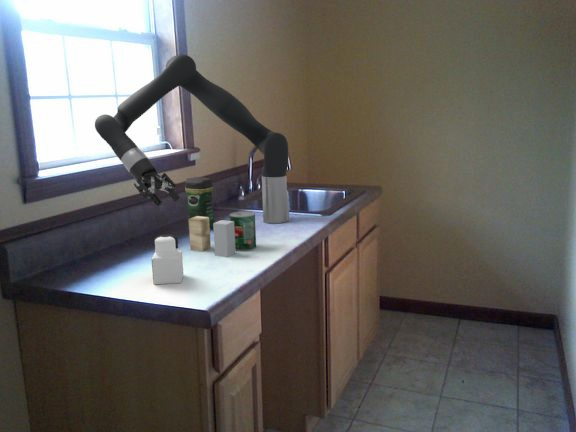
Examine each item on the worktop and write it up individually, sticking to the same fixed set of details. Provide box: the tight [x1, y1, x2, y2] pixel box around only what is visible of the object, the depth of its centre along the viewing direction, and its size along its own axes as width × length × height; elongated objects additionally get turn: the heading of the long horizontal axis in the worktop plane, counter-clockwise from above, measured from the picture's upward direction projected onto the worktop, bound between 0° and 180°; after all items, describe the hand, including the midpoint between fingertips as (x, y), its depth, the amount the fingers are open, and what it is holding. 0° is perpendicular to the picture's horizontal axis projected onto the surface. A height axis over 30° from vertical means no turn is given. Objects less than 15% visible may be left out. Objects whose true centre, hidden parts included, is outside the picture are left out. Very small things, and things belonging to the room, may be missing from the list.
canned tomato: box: [229, 210, 257, 252], centre depth 182 cm, size 8×8×11 cm
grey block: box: [212, 219, 237, 258], centre depth 175 cm, size 4×4×10 cm
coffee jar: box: [184, 176, 216, 230], centre depth 208 cm, size 10×8×19 cm
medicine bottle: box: [151, 233, 184, 285], centre depth 152 cm, size 7×7×12 cm
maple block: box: [188, 216, 212, 252], centre depth 182 cm, size 4×4×10 cm
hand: (169, 202), depth 185 cm, fingers open, 8 cm apart
